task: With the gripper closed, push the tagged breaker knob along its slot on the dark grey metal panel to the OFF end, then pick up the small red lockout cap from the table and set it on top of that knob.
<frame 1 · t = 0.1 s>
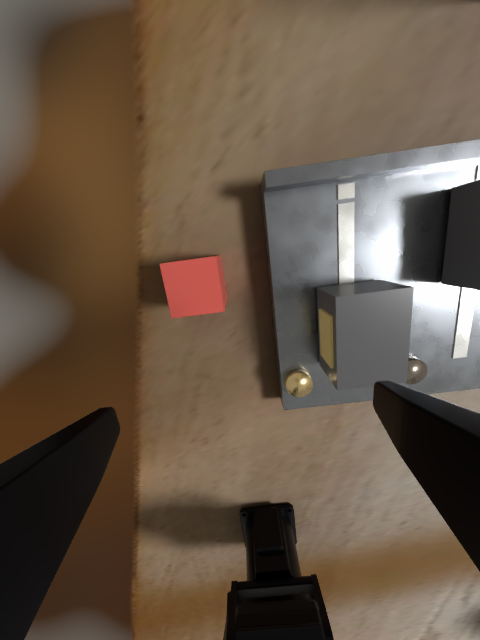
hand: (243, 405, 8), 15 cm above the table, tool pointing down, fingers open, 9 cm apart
breaker A: (357, 332, 18), point 4 cm above the table, slide at 0.0 cm
lockout cap: (202, 280, 22), on the table
breaker panel: (381, 290, 22), on the table
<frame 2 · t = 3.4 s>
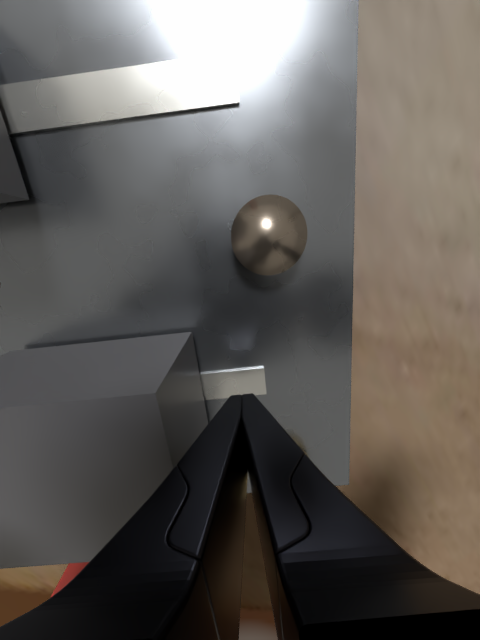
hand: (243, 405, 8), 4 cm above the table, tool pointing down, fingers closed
breaker A: (87, 437, 8), point 4 cm above the table, slide at 1.6 cm, touching gripper
lockout cap: (130, 541, 15), on the table
breaker panel: (110, 293, 11), on the table
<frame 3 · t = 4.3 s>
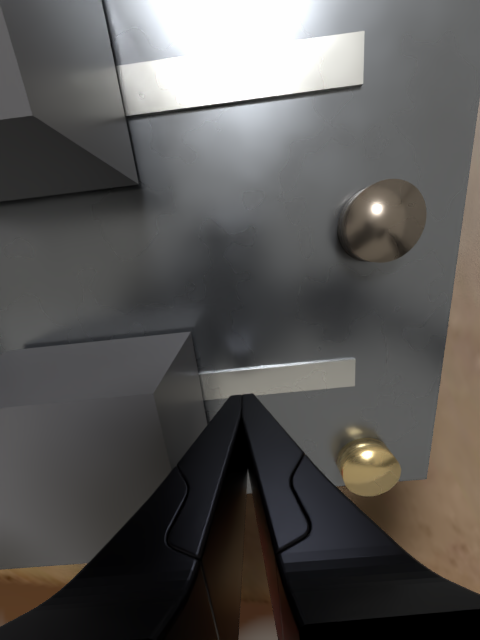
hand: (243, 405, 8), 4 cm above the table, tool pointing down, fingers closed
breaker A: (85, 437, 8), point 4 cm above the table, slide at 5.2 cm, touching gripper
breaker panel: (188, 283, 11), on the table
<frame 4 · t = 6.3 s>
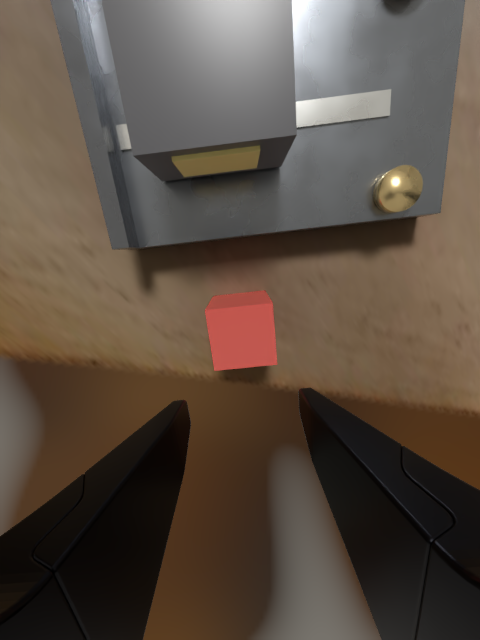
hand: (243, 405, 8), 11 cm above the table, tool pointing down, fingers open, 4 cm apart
breaker A: (211, 104, 11), point 4 cm above the table, slide at 5.2 cm
lockout cap: (241, 318, 19), on the table
breaker panel: (263, 56, 14), on the table
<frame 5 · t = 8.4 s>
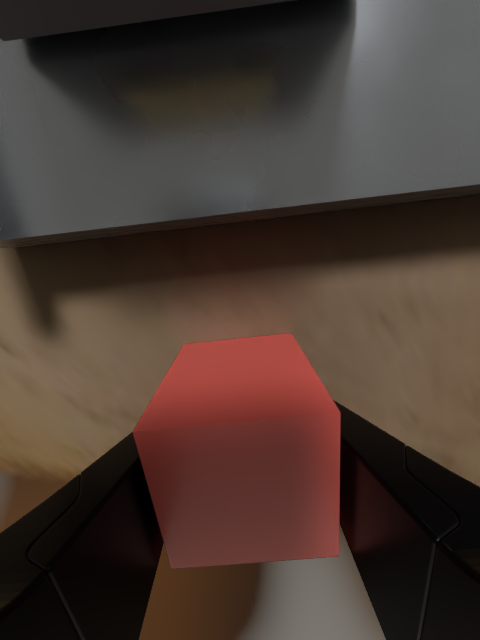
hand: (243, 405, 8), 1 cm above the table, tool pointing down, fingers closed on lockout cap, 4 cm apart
lockout cap: (242, 385, 9), on the table, touching gripper
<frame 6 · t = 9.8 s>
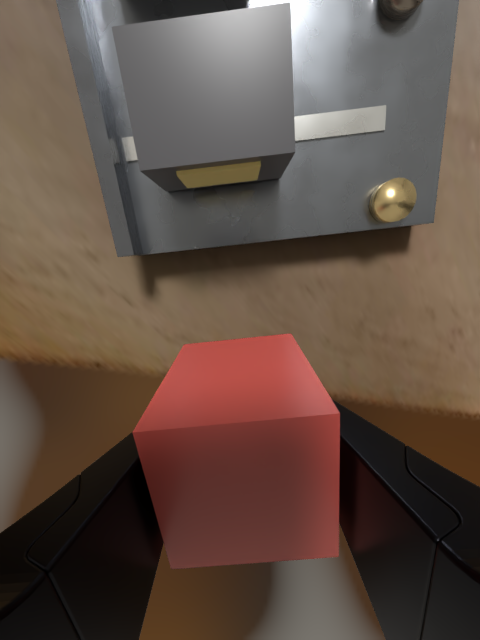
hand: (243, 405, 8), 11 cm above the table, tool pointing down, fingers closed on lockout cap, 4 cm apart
breaker A: (214, 120, 12), point 4 cm above the table, slide at 5.2 cm
lockout cap: (242, 386, 9), point 10 cm above the table, touching gripper
breaker panel: (263, 71, 15), on the table
when the fingers open (9 cm above the table, at t = 11.2 s): lockout cap drops 1 cm, resting on breaker A.
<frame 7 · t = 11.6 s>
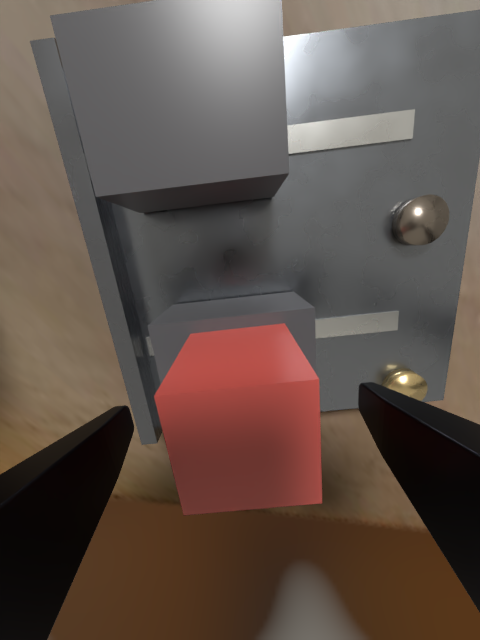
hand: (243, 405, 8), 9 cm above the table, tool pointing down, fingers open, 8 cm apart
breaker A: (237, 353, 13), point 4 cm above the table, slide at 5.2 cm, touching lockout cap
lockout cap: (242, 371, 11), point 6 cm above the table, touching breaker A
breaker B: (190, 129, 10), point 4 cm above the table, slide at 6.0 cm
breaker panel: (280, 263, 15), on the table
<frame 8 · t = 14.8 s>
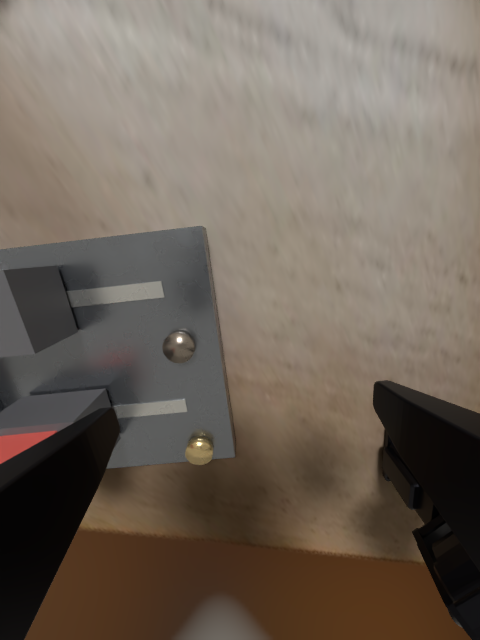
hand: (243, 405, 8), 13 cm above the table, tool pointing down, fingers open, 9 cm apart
breaker A: (56, 436, 19), point 4 cm above the table, slide at 5.2 cm, touching lockout cap
lockout cap: (38, 457, 17), point 6 cm above the table, touching breaker A
breaker panel: (111, 359, 21), on the table
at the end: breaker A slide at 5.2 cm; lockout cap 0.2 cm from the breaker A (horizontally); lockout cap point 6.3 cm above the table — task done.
